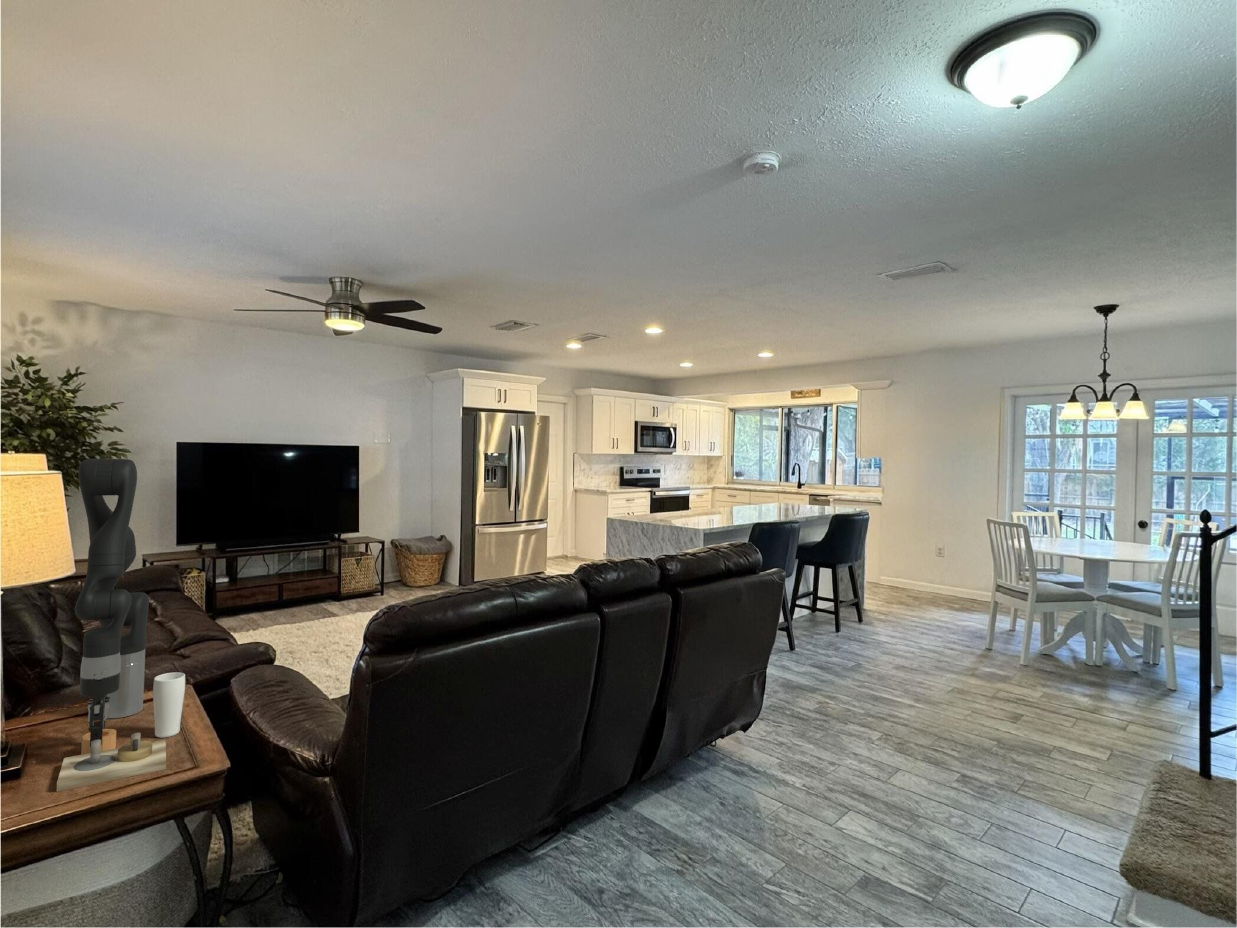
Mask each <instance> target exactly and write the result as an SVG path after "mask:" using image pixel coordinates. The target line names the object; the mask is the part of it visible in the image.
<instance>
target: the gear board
mask: <svg viewBox="0 0 1237 928" xmlns="http://www.w3.org/2000/svg"><path fill="white" fill-rule="evenodd" d="M141 734H142V733H141V732H134V733H132V734H130V742H129V743H126V744H124V745H122V746H120V747H117V748H115V749H110V750H104V751H101V740H94V741H91V752H90V753H88V754H83V755H81V754H77V755H72V756H68V757H67V756H66V757H64V758H63V760H62V764H61V768H60V772H59V774H58V779H57V781H56V792H63V791H68V790H72V789H76V788H82V787H86V786H87V787H88V786H92V785H95V784H96V785H97V784H102V783H106V782H111V781H115V780H121V779H125V778H129V777H135V776H140V775H144V774H149V773H154V772H159V771H165V770H167V740H166V739H164V738H163V739H160V740H155V741H149V740H141V737H142V736H141Z"/></svg>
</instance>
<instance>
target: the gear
mask: <svg viewBox="0 0 1237 928" xmlns="http://www.w3.org/2000/svg"><path fill="white" fill-rule="evenodd" d="M116 745H117V729H113V728H105V729H103V734H102V745H101V751H104V750H110V749H115V748H116ZM90 752H91V747H90V732H87V733H85V734H84V735H82V737H81V752H80V755H83V754H88V753H90Z"/></svg>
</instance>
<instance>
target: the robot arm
mask: <svg viewBox="0 0 1237 928" xmlns="http://www.w3.org/2000/svg"><path fill="white" fill-rule="evenodd" d="M137 483H138V471H137V466H136V463H135V462H134V461H133V460H132V459H128V458H87V459H84V460H83V461H82V462H80V464H79V467H78V484H79V488H80V489H79V490H80V492H81V498H82V500H83V505H84V509H85V513H86V518H87V523H88V534H89V546H88V553H87V568H86V569H87V570H86V576H85V580H84V584H83V586H82V588H81V591H80V594H79V596H78V598H77V600H76V603H75V606H74V613H75V616H76V617H77V618H78V619H79V620H81V621H82V622H83V621H84V622H86V621H87V622H89V621H98V622H99V625H100V626H101V627H98V628H94V629H91V630H88V631H86V633H85V634H84V636H83V639H82V641H83V643H82V659H81V664H80V674H79V675H80V677H79V695H80V696H82V697H84V698H88V697H91V698H92V699H89V700H88V704H87V710H88V716H87V722H88V723H89V726H88V727H89V728H88V729H87V730H88V733H90V747H91V741H94V740H101V745H102V734H103V729H106V720H107V719H119V718H125V717H129V716H132V715H135V714H138V713H140V712H142V710H143V709H144V693H145V691H144V689H145V664H146V641H147V628H148V627H147V626H148V616H149V610H150V609H149V608H150V607H149V606H150V600H149V596H148V595H147V593H146V592H144V591H143V592H141V591H140V592H139V591H138V592H136V591H135V592H129V591H128V590H127V589H124V588H123V589H122V588H117V589H115V587H116V584H117V583H118V581H119V580H120V578H122V577H123V576H124V574H125V573H126V571H127V570H128V569H129V568H130V566H131V565H132V564H133V563H134V561H135V559H136V557H137V547H136V537H135V534H134V530H133V529H132V528H131V527H130V522H131V516H132V511H133V507H134V499H135V496H136V490H137ZM103 496H118V497H117V502H116V505H115V507H114V510H112V509H111V508H110V507H109V506H108V504H107V502H106V501H105V499H104V497H103ZM124 627H125V628H126V627H130V630H129V631H128V632H127V633H124V634H122V632H123V628H124Z"/></svg>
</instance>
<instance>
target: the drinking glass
mask: <svg viewBox="0 0 1237 928" xmlns="http://www.w3.org/2000/svg"><path fill="white" fill-rule="evenodd" d="M185 692H186V674H185V673H184V672H179V671H178V672H175V671H174V672H167V673H166V672H165V673H162V674H159V675H157V676H155V677H154V678H153V687H152V701H153V703H152V704H153V714H154V715H153V716H154V736H155V737H157V738H163V739H164V738H169V737H173V736H176V735H178V734H179V732H180V730H181V720H182V715H183V714H182V713H183V706H184V699H185Z"/></svg>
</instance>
